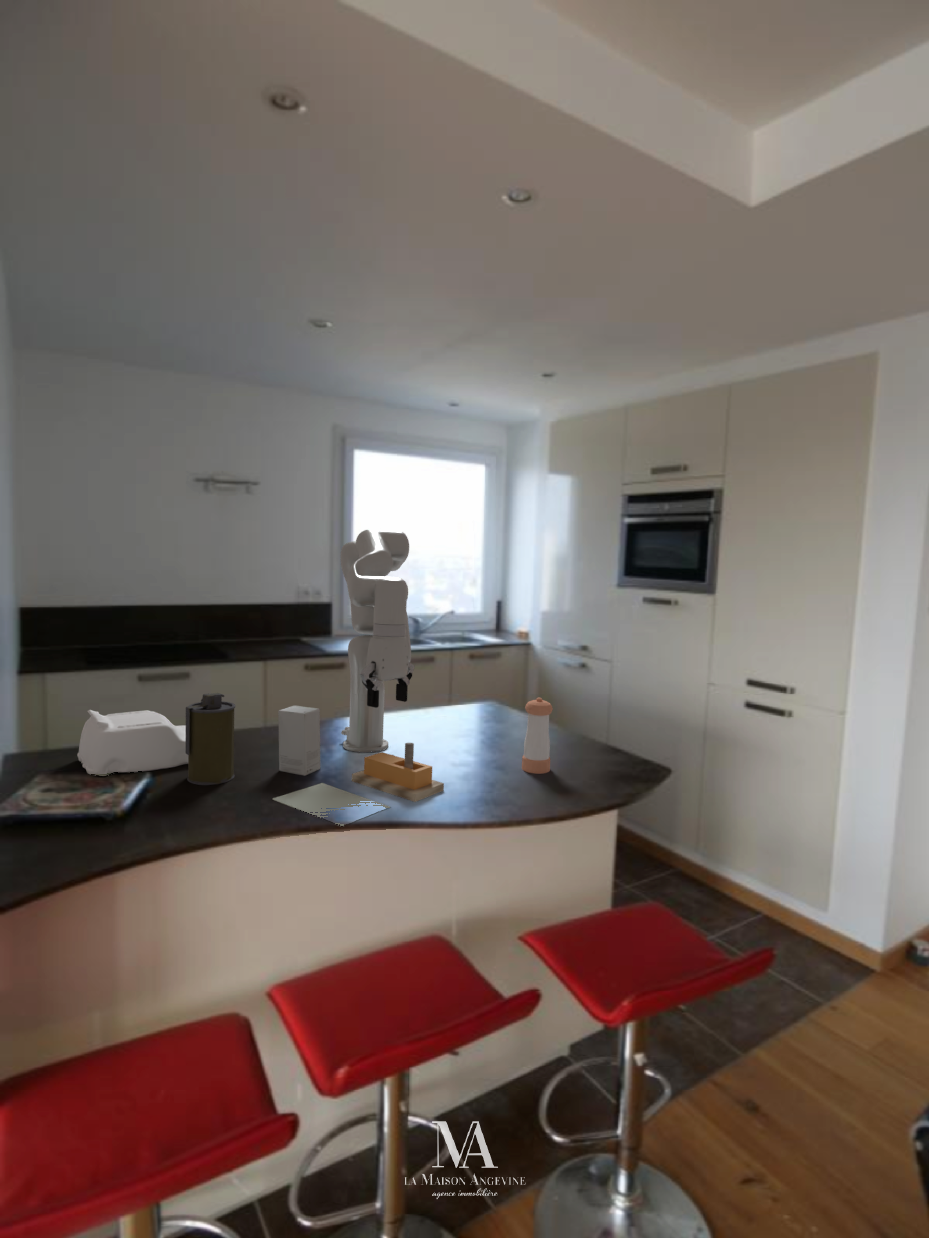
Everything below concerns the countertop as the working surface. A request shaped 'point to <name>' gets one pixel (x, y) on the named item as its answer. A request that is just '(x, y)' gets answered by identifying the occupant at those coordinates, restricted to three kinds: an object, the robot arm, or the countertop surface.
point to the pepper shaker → (537, 737)
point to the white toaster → (131, 743)
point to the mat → (322, 799)
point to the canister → (210, 740)
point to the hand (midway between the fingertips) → (387, 703)
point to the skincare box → (299, 740)
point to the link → (397, 770)
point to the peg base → (398, 789)
